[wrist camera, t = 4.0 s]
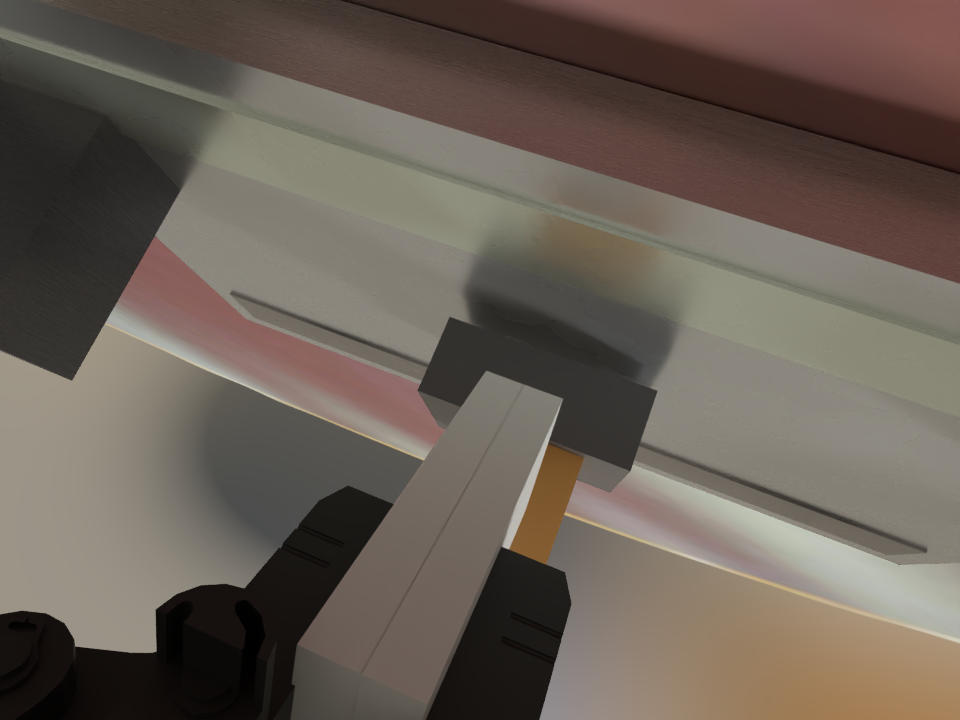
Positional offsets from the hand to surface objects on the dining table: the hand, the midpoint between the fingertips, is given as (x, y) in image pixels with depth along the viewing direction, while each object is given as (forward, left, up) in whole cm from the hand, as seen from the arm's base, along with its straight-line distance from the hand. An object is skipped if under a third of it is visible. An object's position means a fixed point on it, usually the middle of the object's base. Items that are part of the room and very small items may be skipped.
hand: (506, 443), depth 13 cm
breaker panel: (0, -4, -5) cm, 6 cm away
